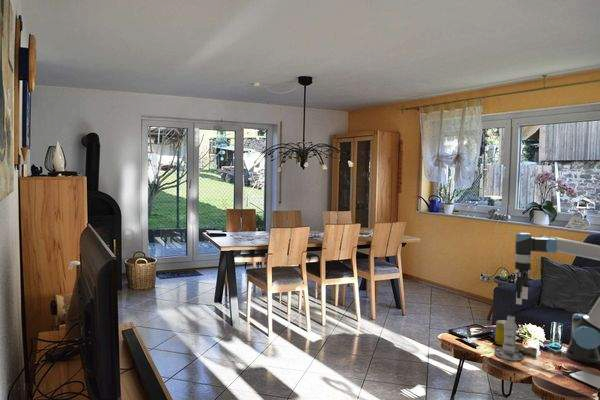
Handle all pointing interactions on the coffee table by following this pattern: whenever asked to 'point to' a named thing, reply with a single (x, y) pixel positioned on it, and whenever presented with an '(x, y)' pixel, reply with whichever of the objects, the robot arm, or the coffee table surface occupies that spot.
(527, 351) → the grey rectangular block
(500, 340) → the yellow cylinder
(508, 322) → the plastic bottle
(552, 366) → the coffee table surface
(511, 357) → the flange
